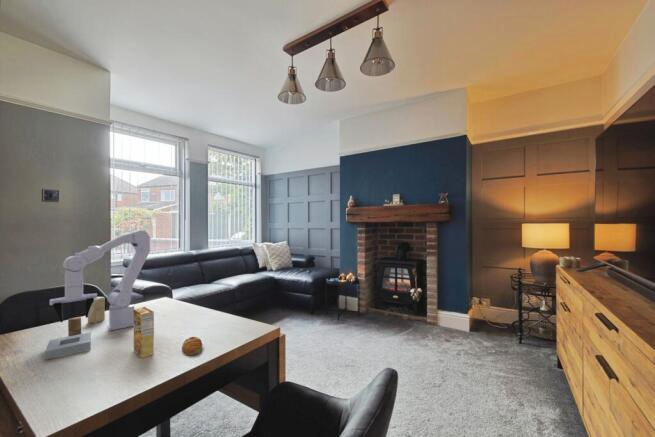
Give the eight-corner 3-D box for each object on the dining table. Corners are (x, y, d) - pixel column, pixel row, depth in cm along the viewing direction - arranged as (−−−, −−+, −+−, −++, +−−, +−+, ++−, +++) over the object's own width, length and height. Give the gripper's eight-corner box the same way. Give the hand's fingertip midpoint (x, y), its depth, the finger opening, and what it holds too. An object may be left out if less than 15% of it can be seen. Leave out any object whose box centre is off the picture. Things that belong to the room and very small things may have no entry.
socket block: (90, 339, 117) (90, 332, 117) (90, 349, 108) (90, 341, 108) (49, 348, 110) (49, 340, 110) (45, 360, 100) (45, 351, 100)
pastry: (204, 353, 104) (204, 342, 104) (183, 358, 100) (183, 347, 100) (200, 344, 112) (200, 334, 112) (181, 348, 108) (180, 338, 108)
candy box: (132, 351, 106) (132, 309, 106) (146, 347, 109) (145, 306, 109) (141, 358, 100) (140, 314, 100) (155, 354, 103) (154, 311, 103)
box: (94, 323, 136) (94, 299, 136) (87, 322, 136) (86, 299, 136) (105, 319, 141) (105, 296, 141) (98, 319, 142) (97, 296, 142)
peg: (81, 335, 121) (81, 316, 121) (81, 338, 118) (80, 318, 118) (68, 338, 119) (68, 318, 119) (68, 341, 116) (67, 321, 116)
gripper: (96, 281, 126) (97, 313, 126) (50, 286, 117) (51, 320, 117) (96, 284, 121) (97, 317, 121) (48, 290, 112) (49, 325, 112)
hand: (74, 319), depth 119 cm, fingers open, 7 cm apart
